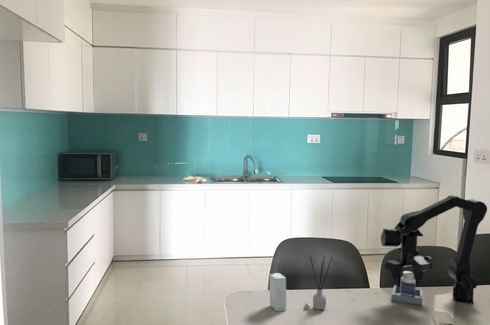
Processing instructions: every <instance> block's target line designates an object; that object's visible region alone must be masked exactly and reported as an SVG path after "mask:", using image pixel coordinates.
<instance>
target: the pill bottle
mask: <svg viewBox="0 0 490 325" xmlns="http://www.w3.org/2000/svg"><path fill="white" fill-rule="evenodd" d="M402 272H403V273H402V276H401V281H400V286H401V291H400V295H404V296H410V297H415V289H416V285H417V284H416V281H415V277H414V271H409V270H405V271H402Z"/></svg>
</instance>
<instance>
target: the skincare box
mask: <svg viewBox="0 0 490 325" xmlns="http://www.w3.org/2000/svg"><path fill="white" fill-rule="evenodd" d="M269 304H270V307H271V308H272V309H273V310H274V311H275V312H283V311H287V277H285V276H284V275H283V274H281V273H280V272H275V273H269Z"/></svg>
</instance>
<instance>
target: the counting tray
mask: <svg viewBox="0 0 490 325" xmlns="http://www.w3.org/2000/svg"><path fill="white" fill-rule="evenodd" d="M400 291H401V285H400V287H397V285H396V284H394V285H393V288H392V293H391V301H392V302H398V303H402V304H403V303H404V304H410V305H416V306H420V307H422V305H423V289H421V288H415V297H410V296H404V295H400Z"/></svg>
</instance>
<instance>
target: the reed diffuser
mask: <svg viewBox="0 0 490 325" xmlns="http://www.w3.org/2000/svg"><path fill="white" fill-rule="evenodd" d="M325 257H326V256H325V254H324V255H323V260H321V264H322V265H321V266H320V267H321V268H320V276H319V286H318V282H317V281H318V280H317V279H316V273H315V270H314V269H315V268H314V265H313V260H312V256H309V259H310V263H311V268H312V271H313V275H314V280H315V283H316V293H315V294H313V296H312V306H313V308H315V309H317V310H324V309H325V308H327V297H326V295H325V294H324V293H323V286H324V285H325V282H326V277H327V274H328V271H329V269H330V265H331V262H332V260H333V256H331V258H330V261H329V264H328V267H327V270H326V273H325V276H324V278H323V282H322V277H323V271H324V263H325ZM321 284H322V285H321ZM310 308H311V305H309V303H308V302H306V303H305V304H304V306H303V309H308V310H309V309H310Z"/></svg>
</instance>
